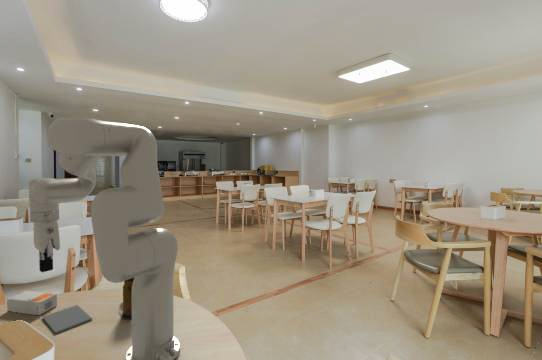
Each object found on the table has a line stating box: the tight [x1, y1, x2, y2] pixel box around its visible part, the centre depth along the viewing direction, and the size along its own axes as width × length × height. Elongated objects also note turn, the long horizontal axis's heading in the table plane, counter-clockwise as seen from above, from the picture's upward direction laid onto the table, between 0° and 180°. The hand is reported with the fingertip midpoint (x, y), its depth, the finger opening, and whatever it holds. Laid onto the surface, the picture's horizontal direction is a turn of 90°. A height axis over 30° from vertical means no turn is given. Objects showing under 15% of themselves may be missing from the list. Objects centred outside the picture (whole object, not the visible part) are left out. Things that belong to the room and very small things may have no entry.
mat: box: [42, 304, 93, 335], centre depth 84 cm, size 12×9×1 cm
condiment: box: [118, 277, 135, 323], centre depth 88 cm, size 7×8×12 cm
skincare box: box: [6, 290, 58, 316], centre depth 90 cm, size 6×4×12 cm
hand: (46, 270), depth 93 cm, fingers closed
